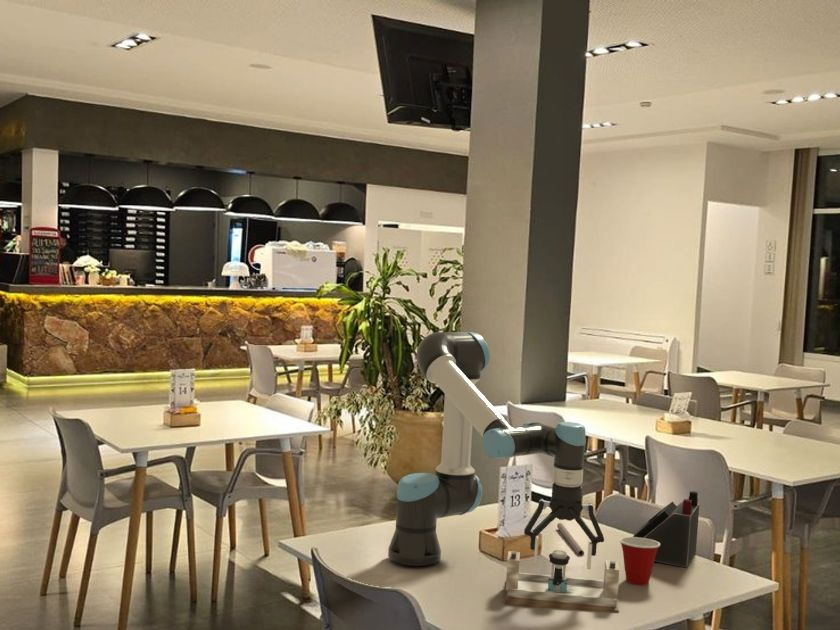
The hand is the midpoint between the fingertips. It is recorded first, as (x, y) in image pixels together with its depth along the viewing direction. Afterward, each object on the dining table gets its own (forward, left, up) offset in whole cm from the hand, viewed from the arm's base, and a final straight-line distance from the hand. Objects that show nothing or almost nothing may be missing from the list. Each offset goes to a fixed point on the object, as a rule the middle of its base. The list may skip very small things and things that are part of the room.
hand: (561, 564), depth 231 cm
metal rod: (+4, +49, -9) cm, 50 cm away
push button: (0, 0, -7) cm, 7 cm away
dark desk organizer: (+31, +40, -9) cm, 51 cm away
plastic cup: (+21, +16, -9) cm, 28 cm away
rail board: (0, 0, -8) cm, 8 cm away
